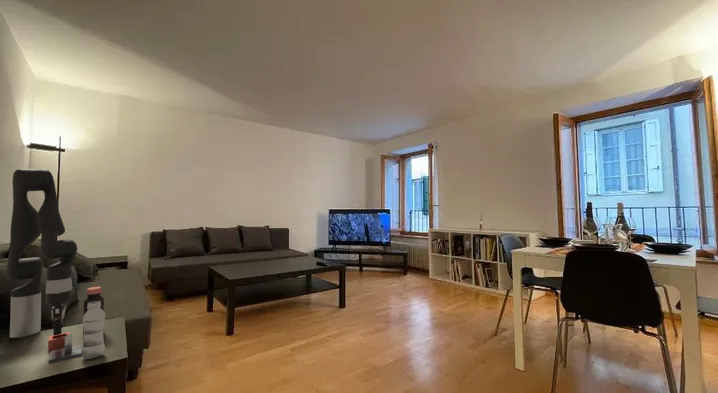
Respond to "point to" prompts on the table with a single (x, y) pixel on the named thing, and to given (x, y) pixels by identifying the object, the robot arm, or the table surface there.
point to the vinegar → (93, 299)
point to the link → (57, 341)
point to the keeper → (66, 351)
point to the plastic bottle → (93, 331)
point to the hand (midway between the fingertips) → (58, 331)
